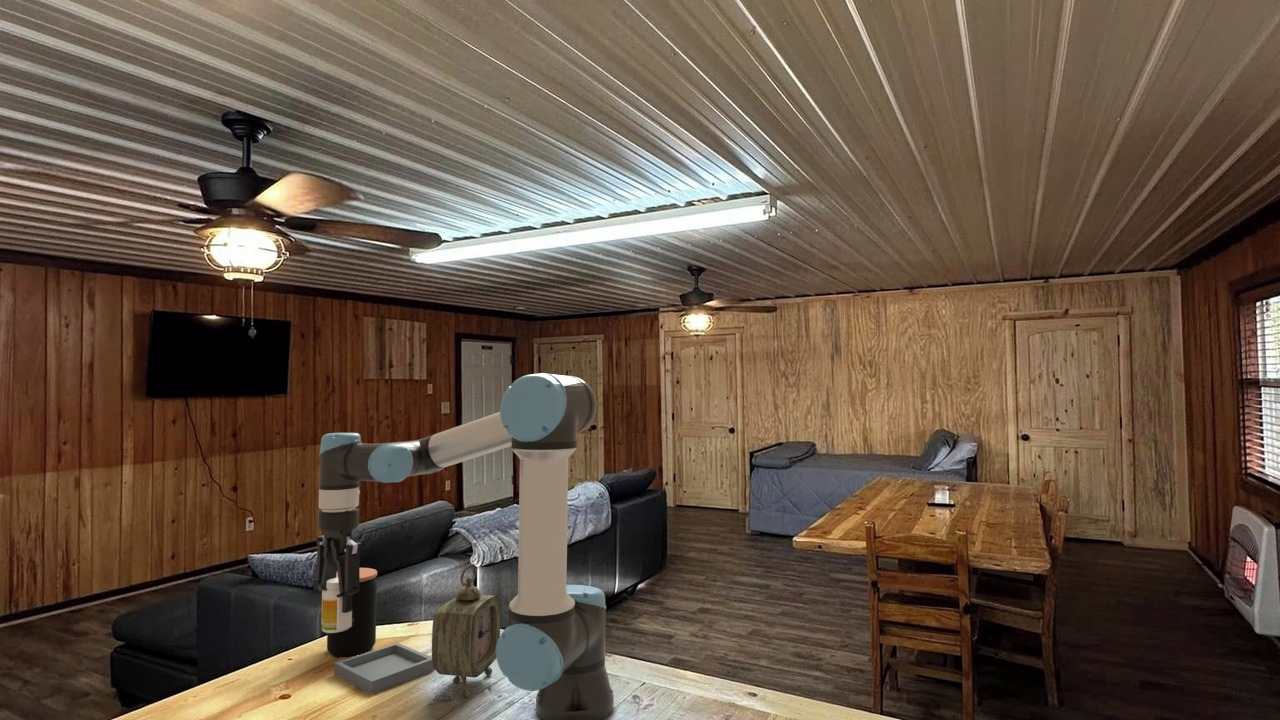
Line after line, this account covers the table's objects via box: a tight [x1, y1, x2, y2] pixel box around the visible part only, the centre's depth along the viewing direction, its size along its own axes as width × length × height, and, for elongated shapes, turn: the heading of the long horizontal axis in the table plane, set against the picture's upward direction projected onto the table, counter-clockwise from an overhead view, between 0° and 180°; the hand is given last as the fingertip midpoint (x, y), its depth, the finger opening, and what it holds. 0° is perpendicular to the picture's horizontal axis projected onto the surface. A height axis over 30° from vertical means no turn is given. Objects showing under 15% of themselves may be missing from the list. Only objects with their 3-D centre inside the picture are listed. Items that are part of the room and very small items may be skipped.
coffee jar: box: [326, 567, 378, 658], centre depth 157 cm, size 11×11×18 cm
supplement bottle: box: [321, 578, 350, 634], centre depth 133 cm, size 5×5×10 cm
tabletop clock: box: [431, 563, 501, 698], centre depth 138 cm, size 14×9×25 cm, turn 168°
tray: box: [333, 642, 436, 695], centre depth 144 cm, size 15×15×2 cm
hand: (336, 624), depth 132 cm, fingers closed on supplement bottle, 5 cm apart
